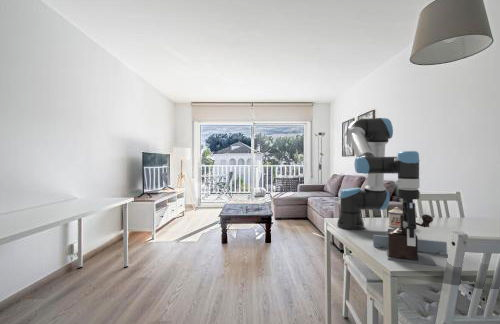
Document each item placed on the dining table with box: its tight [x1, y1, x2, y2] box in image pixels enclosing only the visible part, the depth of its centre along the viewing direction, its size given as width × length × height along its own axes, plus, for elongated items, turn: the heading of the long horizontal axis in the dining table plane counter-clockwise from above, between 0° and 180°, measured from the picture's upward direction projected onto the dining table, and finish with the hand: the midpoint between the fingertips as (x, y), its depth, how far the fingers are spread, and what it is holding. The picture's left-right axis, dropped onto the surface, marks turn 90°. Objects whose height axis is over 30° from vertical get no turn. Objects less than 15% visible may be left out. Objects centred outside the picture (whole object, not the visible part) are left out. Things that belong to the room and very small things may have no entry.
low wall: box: [372, 234, 448, 256], centre depth 118 cm, size 4×28×5 cm, turn 66°
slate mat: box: [385, 248, 437, 267], centre depth 108 cm, size 12×16×1 cm
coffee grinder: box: [387, 213, 434, 260], centre depth 108 cm, size 16×11×18 cm
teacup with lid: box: [388, 206, 403, 229], centre depth 159 cm, size 12×9×12 cm
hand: (408, 241), depth 108 cm, fingers open, 13 cm apart
